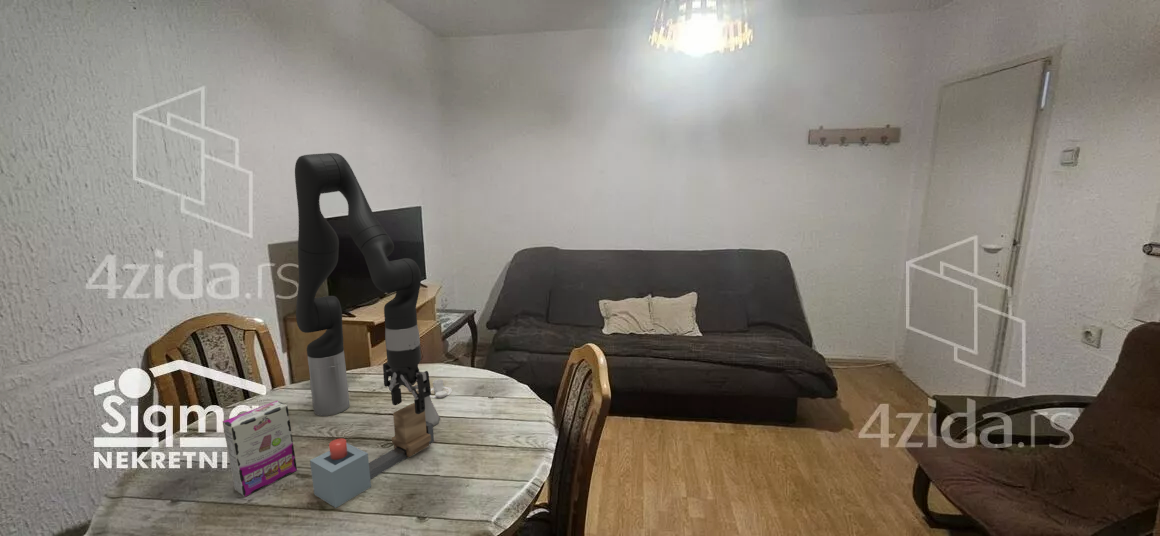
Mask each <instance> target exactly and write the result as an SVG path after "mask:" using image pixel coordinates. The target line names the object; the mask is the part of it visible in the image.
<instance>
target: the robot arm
mask: <svg viewBox="0 0 1160 536" xmlns="http://www.w3.org/2000/svg"><path fill="white" fill-rule="evenodd" d="M294 181H295V191H296V200H297V211H298V212H297V213H298V214H297V215H298V237H297V260H298V261H297V262H298V283H297V284H298V287H297V294H296V295H297V297H296V304H295V305H296V306H295V307H296V308H295V318H296V320H295V321H296V324H297V327H298V329H299V330H300V331H301V332H302V333H304V334H308V333H314V332H322V331H325V332H324V333H323V334H322V335H321V336H319V337H317V338H316V339H315V340H312V341H311V342H309V344H308V345H307V346H306V354H307V363H308V370H309V371H308V372H309V382H310V383H309V384H310V392H311V399H312V400H311V402H312V409H313V412H314V414H315V415H317V416H321V417H322V416H325V417H326V416H332V415H337V414H339V413H342V412H344V411H346V410H347V409H348V408H350V404H351V403H350V396H349V395H350V394H349V387H348V386H349V385H348V376H347V369H346V368H347V367H346V359H345V357H346V356H345V350H344V349H345V347H344V331H343V330H344V329H343V311H342V305H341V303H340V300H339V298H338V297H337V296H336V295H327V296H326V295H325V296H321V297H319V296H318V297H316V296H317V292H318V290H319V289H320V287H321V286H322V285H323V283H324V282H325V281H326V280H327V279H328V277H329V276H331V274H332V272H333V271H334V270H335V268H336V267H337V264H338V262H339V250H340V249H339V247H340V240H339V236H338V235H337V232H336V230H335V229H334V228H333V227H332V226H331V224H330V223H329V221H328V220H327V219H326V218H325V216H324V215H323V213H322V210H321V205H320V197H321V194H322V195H323V194H329V193H337V192H339V193H340V194H341V195H342V196H343V197H344V198H345V201H346V203H347V208H348V209H347V210H348V211H347V230H348V233H349V235H350V237H351V239H352V241H353V242H354V244H355V245H356V246H357V248H358V249H359V251H360V252H361V254H362V255H363V257H364V260H365V263H366V265H367V268H368V271H369V272H368V273H369V275H370V279H371V281H372V283H373V285H374V286H375V288H376V289H378V290H379V291H381V292H383V293H385V294H392V293H395V296H394V297H393V298H392V299H391V300H389V301H388V302H386V304H385V305H384V307H383V315H384V325H385V326H384V328H385V331H384V332H385V333H384V336H385V337H384V339H385V341H384V342H385V349H386V362H385V363H383V364H382V371H383V386H384V387H386V388H387V387H388V389H389V391H390V394H391V396H390V397H391V404H392V405H393V406H397V405H400V404H401V403H402V401H403V399H402V388H401V386H403V387H405V388H406V389H407V391H408V392H409V393H412V396H413V397H414V402H413V403H415V413H416V414H420V413H422V412H424V411H425V399H424V398H425V397H427V396H430V395H432V393H431V392H432V391H431V384H430V383H431V382H430V373H429V372H428V370H425V371H420V369H419V364H420V363H421V361H422V353H421V352H422V351H421V337H420V331H419V327H418V317H417V316H418V314H417V304H418V300H419V296H420V295H419V294H420V288H421V284H422V283H421V281H422V273H421V269H420V267H419V265H418V263H417V262H416V261H415V260H414V259H412V258H406V257H404V258H400V259H395V260H389V258H388V257H390V255H391V254H392V253H393V251H394V250H395V245H394V244H395V243H394V241H393V240H392V238H391V237H390V235H389V234H388V233H387V231H386V230H385V228H384V227H383V226H382V224H381V223H380V222H379V220H378V218H377V217H376V216H375V214H374V212H373V210H372V209H371V206H370V205H369V202H368V200H367V198H366V196H365V194H364V191H363V189H362V187H361V185H360V183H359V180H358V179H357V177H356V175H355V173H354V171H353V168H352V167H351V165H350V164H349V162H348V161H347V159H346V158H345V157H344V156H343V155H341V154H339V153H336V152H328V153H325V152H324V153H312V154H303V155H300V156H299V157H298V158H297V160H296V162H295V166H294ZM416 383H417V384H416ZM424 388H425V389H426V391H424ZM417 390H418V391H419V392H418V391H417Z"/></svg>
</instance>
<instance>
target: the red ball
mask: <svg viewBox="0 0 1160 536" xmlns="http://www.w3.org/2000/svg"><path fill="white" fill-rule="evenodd" d="M346 443H347V440H346V438H341V437H340V438H336V439H333V440H331V441H330V442H329V444H328V446H329V451H330V457H331V459H333V460H338V459H342V458H344V457H345V456H347V444H346Z"/></svg>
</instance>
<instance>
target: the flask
mask: <svg viewBox="0 0 1160 536" xmlns="http://www.w3.org/2000/svg"><path fill="white" fill-rule="evenodd" d="M416 391H417V393H419V391H418V389H416ZM424 391H426V389H425V388H424ZM424 399H425V419H426V421H427V422H430V423H432V424H433V427H434V426H436V425H438V424H439V423H440V420H441V417H440V415H439V413H438V411H437V409H436V408H435V406H434V403H433V401H432V398H431V397H430V396H427V397H425V398H424Z"/></svg>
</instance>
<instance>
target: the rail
mask: <svg viewBox="0 0 1160 536" xmlns="http://www.w3.org/2000/svg"><path fill="white" fill-rule="evenodd" d="M426 433H427V434H430V435H431V441H429V446H430V445H431V444H433V443H434V442H435V437H434V436H435V435H434V433H435V432H434V426H433V424H432V423H430V422H427V421H426ZM408 458H409V457H407V452H406V450H405V449H403V448H401V447H399V446H398V447H397V448H395V449H394V448H393V449H391V450H390V451H388V452H386V453H384V454H382V455H380V456H379V457H376V458H375V459H373V460H371V461H369V470H370V480H371V479H373V478H375V477H376V476H377V477H378V475H380V474H382V473H383V472H385V471H388V470H389V469H391V468H392V467H394V466H395V465H397V464H399V463H400V462H403V461H405V460H406V459H408Z"/></svg>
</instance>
